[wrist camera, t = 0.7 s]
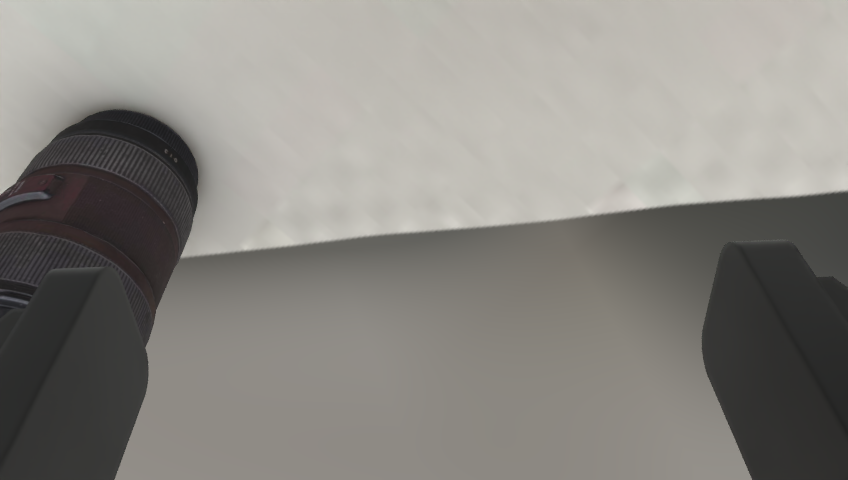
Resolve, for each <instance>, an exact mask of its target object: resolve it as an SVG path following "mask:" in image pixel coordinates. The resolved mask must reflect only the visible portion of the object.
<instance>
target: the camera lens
mask: <svg viewBox="0 0 848 480" xmlns="http://www.w3.org/2000/svg"><path fill="white" fill-rule="evenodd" d="M197 185H198V170H197V165H196V162H195V159H194V157H193V155H192V153H191V152H190V150H189V148H188V146H187V145H186V144H185V143H184V141H183V140H182V139H181V138H180V137H179V135H177V134H176V133H175V132H174V131H173V130H171V129H170V128H169V127H168V126H167V125H165V124H163V123H161V122H159V121H158V120H156V119H154V118H152V117H150V116H147V115H144V114H141V113H137V112H132V111H127V110H108V111H102V112H99V113H96V114H93V115H90V116H88V117H87V118H85V119H84V120H82V121H81V122H80V123H77V124H75V125H72V126H70V127H68V128H67V129H65V130H63V131H62V132H60V133H59V134H58V135H57V136H56V137H55V138H54V139H53V140H52V141H51V143H50V144H49V145H48V146H47V147H45V148H44V149H43V150H42V151H41V152H39V153H38V154H37V155H36V156H35V157H34V158H33V160H32V161H31V162H30V164H29V165H28V166H27V168H26V169H25V171H24V172H23V173H22V175H21V176H20V177H19V179H18V180H17V182H16V184H14V185H13V186H11V187H10V188H8V189H7V190H6V191H5V192H4V193H2V194H1V195H0V318H1V317H3V316H4V315H5V314H6V313H7V312H9V311H10V310H11V309H24V308H25V307H26V306H27V304H28V303H29V301H30V299H31V298H32V296H33V294H34V293H35V291H36V289H37V288H38V286H39V284H40V283H41V281H42V279H43V278H44V276H45V275H46V274H47V273H48V272H49V271H50V270H52V269H62V268H86V267H109V266H110V267H113V268H114V269H115V270H116V271H117V272H118V274H119V275H120V278H121V280H122V283H123V286H124V288H125V291H126V294H127V297H128V300H129V303H130V306H131V308H132V311H133V314H134V317H135V320H136V323H137V326H138V329H139V331H140V334H141V337H142V340H143V343H144V346H145V347H146V344H147V342H148V340H149V337H150V334H151V330H152V327H153V324H154V319H155V314H156V309H157V307H158V304H159V302H160V300H161V297H162V295H163V293H164V290H165V288H166V286H167V283H168V281H169V279H170V276H171V274H172V272H173V270H174V268H175V266H176V265H177V263H178V261H179V259H180V256H181V254H182V252H183V249H184V247H185V244H186V242H187V239H188V237H189V234H190V231H191V227H192V222H193V217H194V214H195V211H196V207H197V200H198V194H197Z"/></svg>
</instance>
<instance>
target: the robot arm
mask: <svg viewBox="0 0 848 480" xmlns="http://www.w3.org/2000/svg"><path fill="white" fill-rule="evenodd" d="M702 352H703V360H704V365H705V369H706V372H707V375H708V377H709V380H710V382H711V384H712V387H713V389H714V391H715V394H716V396H717V398H718V401H719V403H720V405H721V408H722V410H723V412H724V415H725V417H726V419H727V421H728V424H729V426H730V428H731V431H732V433H733V435H734V438H735V440H736V442H737V445H738V447H739V450H740V452H741V454H742V457H743V459H744V461H745V464H746V466H747V468H748V471H749V473H750V475H751V477H752V480H848V287H846V286H845V285H844V284H842V283H841V282H839V281H838V280H837V279H835V278H834V277H816V275H815V274H814V272H813V271H812V269H811V268H810V267H809V265H808V264H807V262H806V261H805V259H804V258H803V256H802V255H801V253H800V252H799V250H798V249H797V248H796V246H795V245H794V244H793V243H792V242H791V241H789V240H765V241H743V242H742V241H741V242H728V243H727V244H725V245H724V247H723V249H722V251H721V253H720V257H719V261H718V266H717V270H716V274H715V278H714V283H713V288H712V292H711V296H710V300H709V304H708V308H707V313H706V317H705V321H704V326H703V332H702ZM147 384H148V359H147V353H146V349H145V346H144V343H143V340H142V337H141V334H140V331H139V329H138V326H137V323H136V320H135V317H134V314H133V311H132V308H131V306H130V303H129V300H128V297H127V294H126V291H125V288H124V286H123V283H122V280H121V278H120V275H119V274H118V272H117V271H116V270H115V269H114V268H113V267H110V266H109V267H86V268H62V269H52V270H50V271H49V272H48V273H47V274H46V275H45V276H44V278H43V279H42V281H41V283H40V284H39V286H38V288H37V289H36V291H35V293H34V294H33V296H32V298H31V299H30V301H29V303H28V304H27V306H26V307H25V308H24V309H11V310H10V311H9V312H7V313H6V314H5V315H4V316H3V317H1V318H0V480H114V479H115V476H116V473H117V471H118V468H119V465H120V463H121V460H122V457H123V454H124V452H125V449H126V446H127V443H128V441H129V438H130V435H131V433H132V430H133V427H134V424H135V421H136V419H137V416H138V413H139V410H140V408H141V405H142V402H143V400H144V397H145V394H146V389H147Z"/></svg>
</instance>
